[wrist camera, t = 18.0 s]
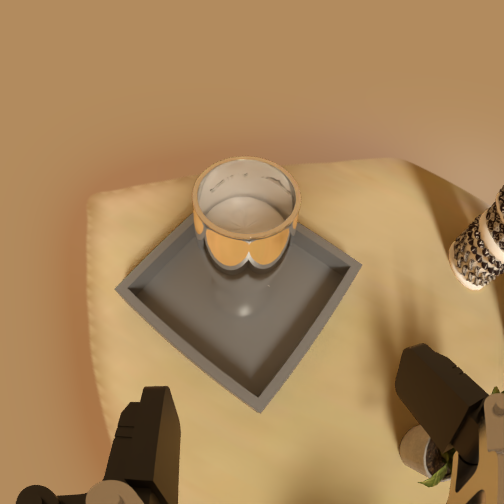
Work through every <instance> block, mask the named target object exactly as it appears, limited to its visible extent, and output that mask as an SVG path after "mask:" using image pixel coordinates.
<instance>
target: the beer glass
mask: <svg viewBox="0 0 504 504" xmlns="http://www.w3.org/2000/svg"><path fill="white" fill-rule="evenodd" d="M192 202H193V216H194V229H195V236H196V242H197V246H198V249H199V253H200V256H201V258H202V260H203V262H204V264H205V267H206V268H207V270H208V272H209V273H210V275H211V276H212V278H213V283H212V295H213V299H214V301H215V303H216V304H217V306H218V307H219V308H220V309H221V310H222V311H223V312H225V313H226V314H228V315H231V316H234V317H250V316H253V315H255V314H257V313H259V312H260V311H262V310H263V309H264V308H265V306H266V305H267V304H268V302H269V300H270V297H271V281H272V280H273V279H274V278H275V276H276V275H277V274H278V273H279V271H280V270H281V268H282V266H283V265H284V263H285V261H286V260H287V257H288V255H289V252H290V250H291V247H292V244H293V240H294V236H295V232H296V226H297V221H298V214H299V210H300V206H301V193H300V189H299V186H298V184H297V182H296V181H295V179H294V178H293V176H292V175H291V174H290V173H289V172H288V171H287V170H285V169H284V168H283V167H281V166H280V165H278V164H276V163H274V162H272V161H270V160H267V159H263V158H259V157H252V156H238V157H231V158H227V159H224V160H221V161H219V162H216V163H215V164H213V165H211V166H210V167H208V168H207V169H206V170H205V171H203V172H202V174H201V175H200V176H199V177H198V179H197V180H196V182H195V185H194V187H193V192H192Z"/></svg>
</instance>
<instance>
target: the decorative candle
mask: <svg viewBox="0 0 504 504" xmlns="http://www.w3.org/2000/svg"><path fill="white" fill-rule="evenodd" d="M495 200H496V201H495V202H494V204H493V205H492V206H491V207H490V208H488V209H486V210H485V212H484V213H483V214H482V215H479V216H478V217H476V218H475V221H474V222H473V223H472V224H470V225H469V228H467V229H466V230H464V231H463V232H462V233H461V235H460V236H459V237H457V238H456V240H455V241H454V242H453V243H452V245H451V246H450V248H449V261H450V265H451V269H452V270H453V272H454V274H455V276H456V278H457V279H458V280H459V281H460V282H461V283H462V284H463V285H464V286H465V287H467V288H469V289H471V290H480V289H481V288H482V287H484V286H485V285H488V284H489V282H491V281H492V280H495V275H496V276H499V274H503V272H504V185H503V187H502V189H500V192H498V193H497V196H496V199H495ZM500 269H501V270H500Z"/></svg>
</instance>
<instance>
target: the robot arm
mask: <svg viewBox="0 0 504 504" xmlns="http://www.w3.org/2000/svg"><path fill="white" fill-rule="evenodd" d="M456 366H457V365H455V364H454V363H453V362H452V361H451V360H450V359H449V358H447V357H445V356H443V355H441V354H439V353H437V352H436V353H435V352H434V351H433V350H432V349H431V348H430V347H429V346H428V345H426V344H424V343H421V344H418V345H415V346H412V347H408V348H406V349H404V351H403V353H402V357H401V361H400V365H399V369H398V373H397V377H396V381H395V388H396V392H397V394H398V396H399V398H400V399H401V400H402V401H403V403H404V404H405V405H406V407H407V408H408V409H409V410H410V412H411V413H412V414H413V416H414V417H415V418H416V419H417V421H418V422H419V423H420V425H421V426H422V427H423V429H424V430H425V431H426V433H427V434H428V435H429V436H430V438H431V439H432V440H433V442H434V443H435V444H436V446H437V447H438V448H439V450H440V451H441V452H442V454H443V453H445V452H447V451H448V450H450V449H452V448H455V450H456V452H455V453H454V456H453V466H452V475H451V484H450V491H449V497H448V500H447V503H446V504H504V394H502V393H495V394H491V395H488V394H487V393H486V392H485V391H484V390H483V389H482V388H481V387H480V386H479V385H477V384H476V383H475V382H474V381H473V380H472V379H471V378H470V377H469V376H468V375H467V374H465V373H463V371H462V370H461V369H460V368H459V367H456ZM180 437H181V431H180V422H179V418H178V415H177V412H176V408H175V405H174V402H173V399H172V395H171V392H170V389H169V387H168V386H154V387H144V389H143V392H142V397H141V401H140V402H130V403H129V404H128V406H127V407H126V408H125V409H124V410H123V411H122V413H121V415H120V419H119V422H118V428H117V430H116V433H115V439H114V441H113V444H112V448H111V452H110V456H109V460H108V464H107V468H106V472H105V476H104V479H103V481H102V482H99V483H97V484H96V485H94V486H93V487H92V488H91V489H90V490H89V491H88V493H85V494H79V495H65V496H56V495H55V494H54V493H53V492H52V491H51V490H49V489H48V488H46V487H44V486H40V485H32V486H29V487H26V488H25V489H23V490H22V491H21V493H20V494H19V496H18V498H17V501H16V504H178V481H179V456H180Z"/></svg>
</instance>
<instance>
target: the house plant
mask: <svg viewBox="0 0 504 504" xmlns="http://www.w3.org/2000/svg"><path fill="white" fill-rule="evenodd" d="M495 393H500V392H499V389H498V388H497V387H494V389H493V392H492V394H495ZM501 393H502V394H504V391H503V392H501ZM399 452H400V457H401V459H402V461H403V463H404V464H405V465H407V466H408V467H410V468H412V469H414V470H416V471H417V472H419V473H421V474H423V475H425V476H427V477H428V478H429V479H427V480H425V481H424V482H418V483H421V484H424V485H425V486H427V487H433V486H435V485H437V484H438V483H439V482H444V481H448V480H450V479H451V475H452V466H453V456H454V453H455V452H456V450H455V448H452V449H450V450H448V451H447V452H445V453H443V454H442V452H441V451H440V450H439V448H438V447H437V446H436V444H435V443H434V442H433V440H432V439H431V438H430V436H429V435H428V434H427V433H426V431H425V430H424V429H423V427H422V426H421V425H417V426H415V427H413V428H412V429H410V430H409V431H408V432H407V433H406V434H405V436H404V437H403V439H402V441H401V444H400V449H399Z"/></svg>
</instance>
